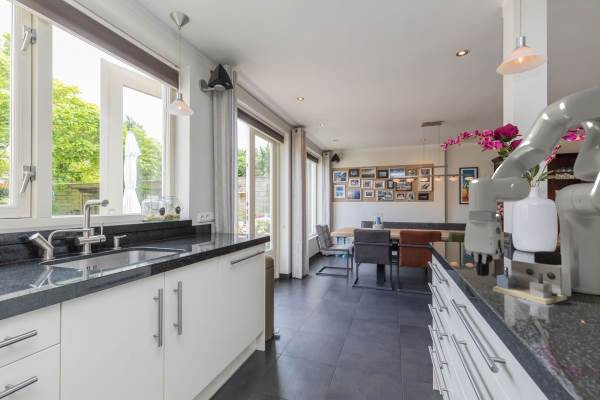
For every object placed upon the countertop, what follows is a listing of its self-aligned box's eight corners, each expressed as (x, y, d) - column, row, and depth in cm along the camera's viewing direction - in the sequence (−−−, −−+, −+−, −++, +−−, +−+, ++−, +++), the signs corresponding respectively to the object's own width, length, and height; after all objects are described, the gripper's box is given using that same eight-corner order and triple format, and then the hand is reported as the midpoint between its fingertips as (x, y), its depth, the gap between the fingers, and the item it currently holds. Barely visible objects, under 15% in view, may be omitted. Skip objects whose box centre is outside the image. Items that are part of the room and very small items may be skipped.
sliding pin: (505, 284, 84) (505, 265, 84) (516, 287, 81) (516, 267, 81) (497, 286, 83) (496, 267, 83) (508, 289, 80) (507, 269, 80)
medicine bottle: (572, 297, 77) (570, 254, 78) (542, 296, 79) (541, 253, 79) (554, 290, 84) (553, 250, 85) (527, 288, 86) (526, 249, 86)
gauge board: (513, 286, 86) (513, 259, 87) (567, 299, 74) (566, 267, 75) (492, 290, 82) (492, 262, 83) (545, 304, 71) (544, 271, 71)
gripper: (515, 218, 83) (516, 280, 83) (468, 216, 97) (468, 269, 96) (499, 218, 80) (500, 282, 80) (453, 216, 94) (453, 271, 93)
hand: (482, 275), depth 88 cm, fingers closed
